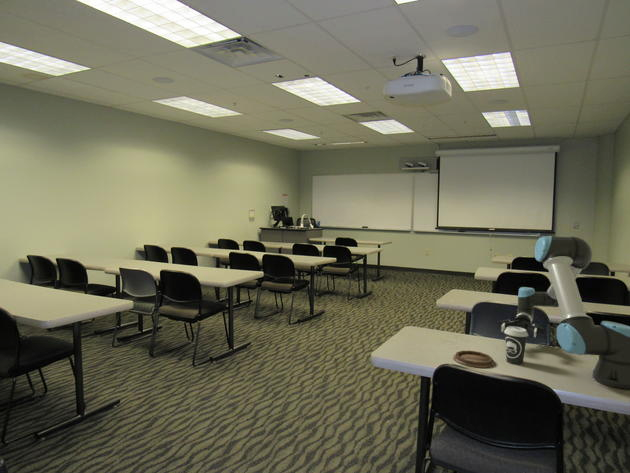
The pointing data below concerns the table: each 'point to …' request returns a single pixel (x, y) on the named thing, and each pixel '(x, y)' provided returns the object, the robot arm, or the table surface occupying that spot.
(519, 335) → the coffee cup
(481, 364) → the coaster
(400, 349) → the table surface
